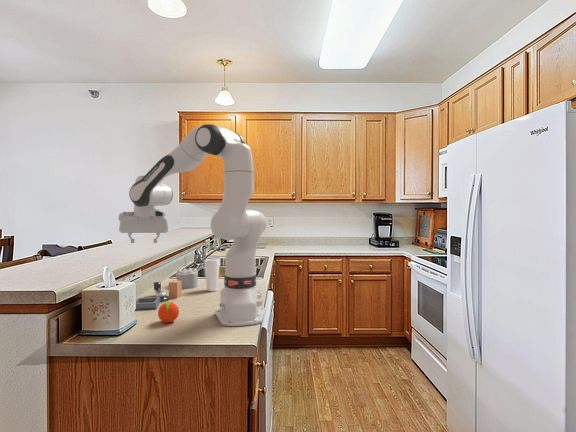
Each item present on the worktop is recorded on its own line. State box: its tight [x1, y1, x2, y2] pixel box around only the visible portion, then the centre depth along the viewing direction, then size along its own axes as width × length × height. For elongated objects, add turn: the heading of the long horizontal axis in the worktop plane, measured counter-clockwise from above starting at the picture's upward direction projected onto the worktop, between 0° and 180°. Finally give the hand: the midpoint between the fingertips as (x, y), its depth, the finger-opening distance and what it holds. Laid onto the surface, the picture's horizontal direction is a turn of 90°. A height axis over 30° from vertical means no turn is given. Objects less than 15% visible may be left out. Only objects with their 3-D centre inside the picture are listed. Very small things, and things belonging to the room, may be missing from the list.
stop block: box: [168, 279, 183, 299], centre depth 154 cm, size 4×4×7 cm
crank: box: [153, 281, 167, 298], centre depth 152 cm, size 13×4×4 cm, turn 30°
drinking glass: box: [204, 257, 220, 292], centre depth 166 cm, size 7×7×15 cm
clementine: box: [157, 301, 180, 324], centre depth 120 cm, size 8×7×7 cm
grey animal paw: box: [175, 267, 199, 290], centre depth 177 cm, size 10×13×9 cm
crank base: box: [160, 295, 169, 303], centre depth 149 cm, size 6×6×1 cm
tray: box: [135, 296, 161, 311], centre depth 139 cm, size 9×9×2 cm
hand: (144, 242), depth 155 cm, fingers open, 8 cm apart
